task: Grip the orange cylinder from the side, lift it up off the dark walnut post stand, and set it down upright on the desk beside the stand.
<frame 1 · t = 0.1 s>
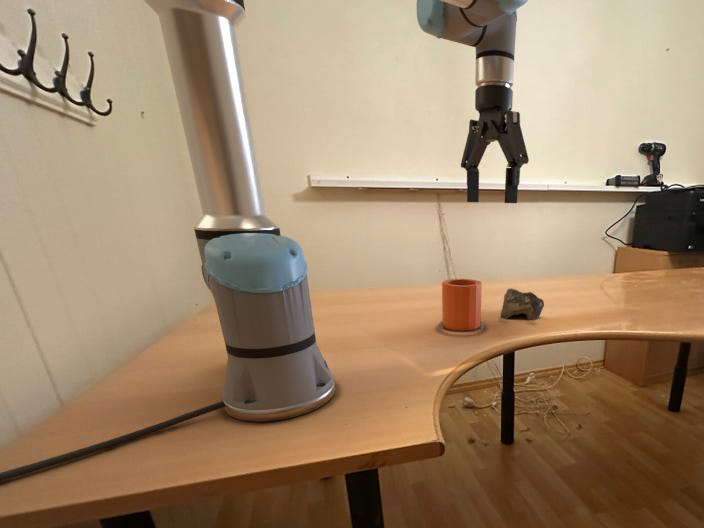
hand: (490, 202, 88), 28 cm above the table, tool pointing down, fingers open, 13 cm apart
orange cylinder: (461, 324, 94), point 1 cm above the table, touching ring stand
ring stand: (461, 328, 95), on the table
fossil: (521, 319, 104), on the table
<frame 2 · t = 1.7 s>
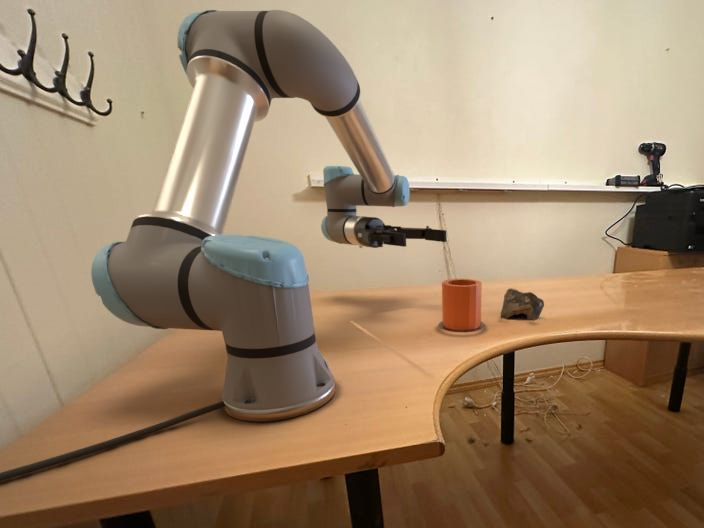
hand: (426, 238, 93), 20 cm above the table, tool horizontal, fingers open, 13 cm apart
nothing on the table moved.
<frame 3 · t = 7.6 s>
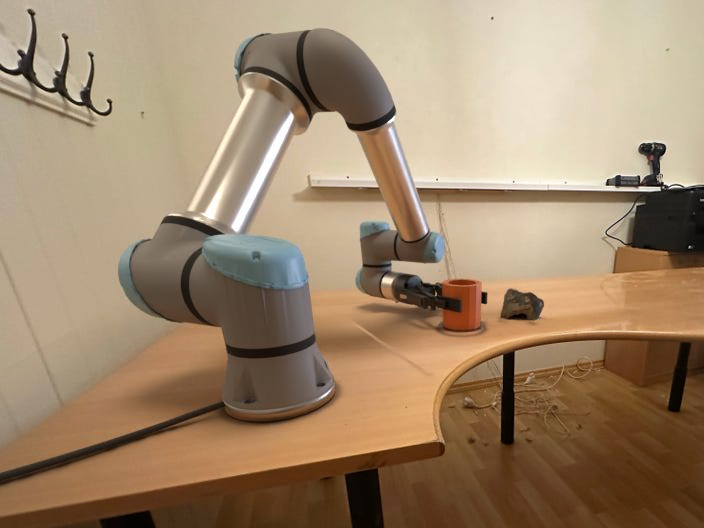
hand: (474, 302, 90), 7 cm above the table, tool horizontal, fingers closed on orange cylinder, 9 cm apart
orange cylinder: (461, 324, 94), point 1 cm above the table, touching gripper, ring stand
everything else where it was.
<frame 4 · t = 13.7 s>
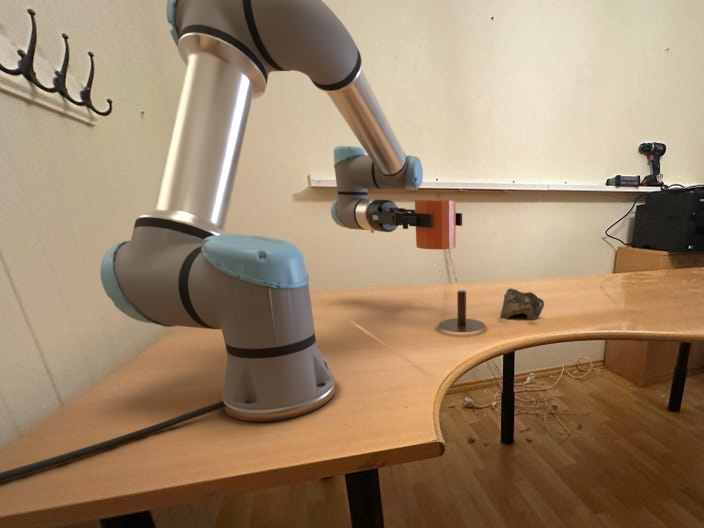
hand: (447, 220, 88), 24 cm above the table, tool horizontal, fingers closed on orange cylinder, 9 cm apart
orange cylinder: (436, 247, 92), point 18 cm above the table, touching gripper
everything else where it was.
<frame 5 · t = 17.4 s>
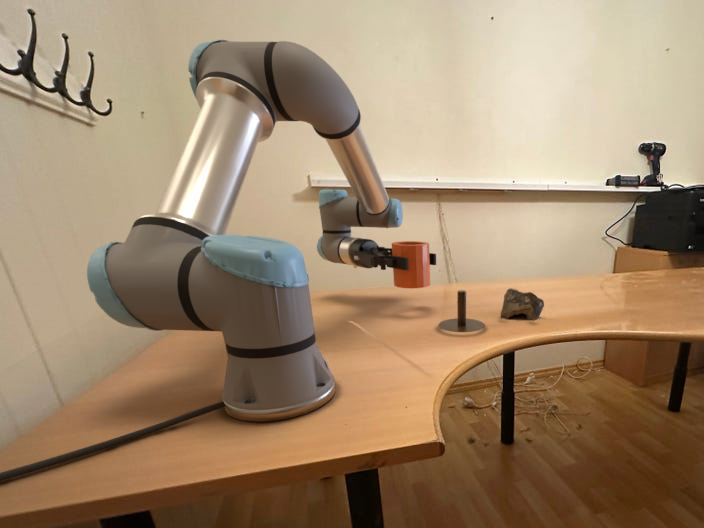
hand: (421, 261, 96), 14 cm above the table, tool horizontal, fingers closed on orange cylinder, 9 cm apart
orange cylinder: (412, 284, 100), point 8 cm above the table, touching gripper
everything else where it was.
when the fingers open (6 cm above the table, at t = 20.2 s): orange cylinder stays where it is, on the table.
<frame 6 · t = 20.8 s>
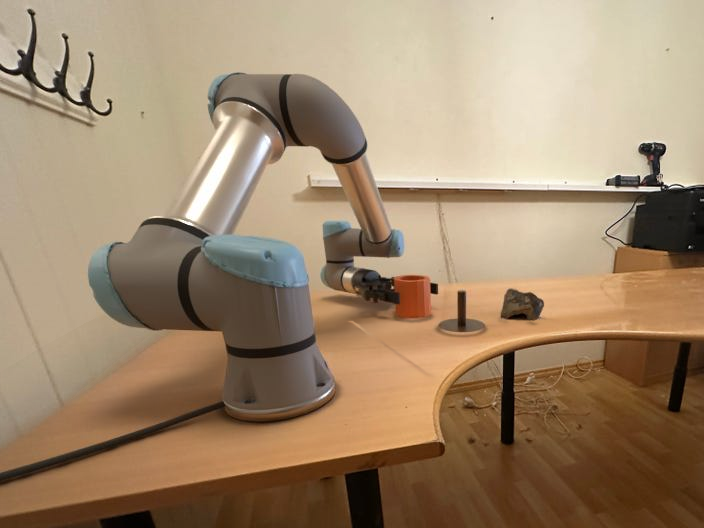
hand: (418, 293, 100), 6 cm above the table, tool horizontal, fingers open, 13 cm apart
orange cylinder: (413, 316, 103), on the table
everything else where it was.
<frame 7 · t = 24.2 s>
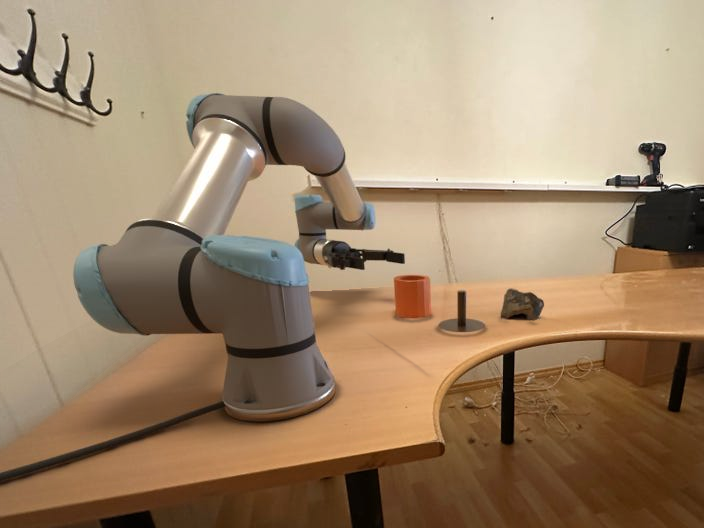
hand: (384, 261, 104), 13 cm above the table, tool horizontal, fingers open, 13 cm apart
nothing on the table moved.
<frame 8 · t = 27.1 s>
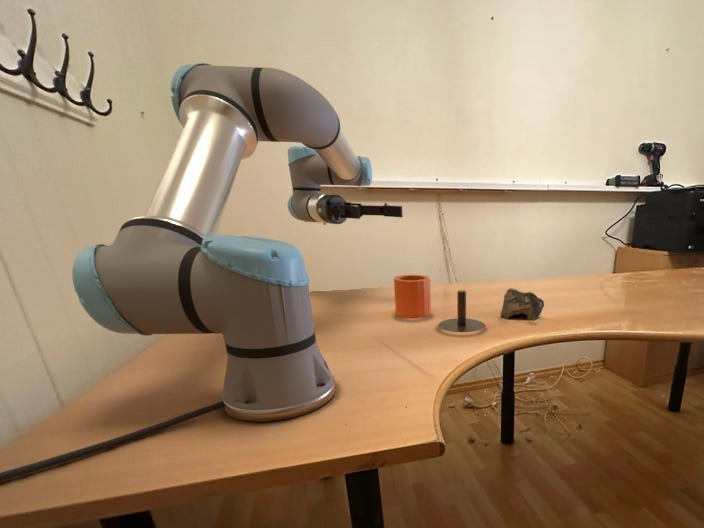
hand: (381, 212, 99), 25 cm above the table, tool horizontal, fingers open, 13 cm apart
nothing on the table moved.
at the end: orange cylinder inside the target area (0.1 cm from its centre), on the table; orange cylinder tilted 0°; the gripper is holding nothing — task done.
